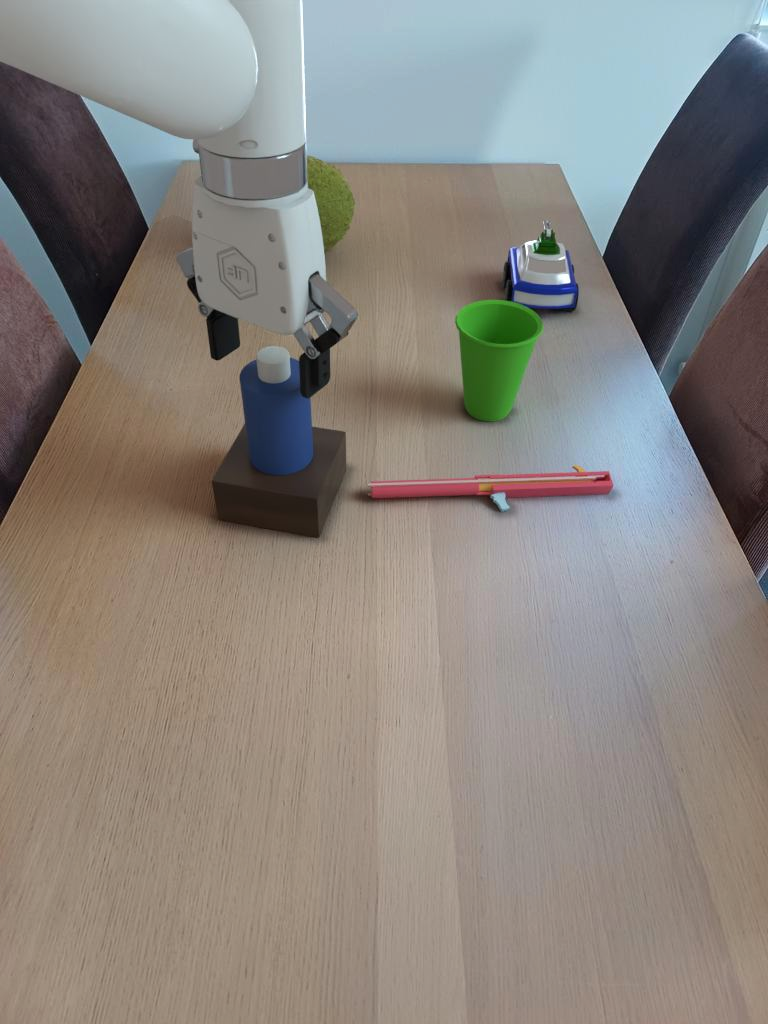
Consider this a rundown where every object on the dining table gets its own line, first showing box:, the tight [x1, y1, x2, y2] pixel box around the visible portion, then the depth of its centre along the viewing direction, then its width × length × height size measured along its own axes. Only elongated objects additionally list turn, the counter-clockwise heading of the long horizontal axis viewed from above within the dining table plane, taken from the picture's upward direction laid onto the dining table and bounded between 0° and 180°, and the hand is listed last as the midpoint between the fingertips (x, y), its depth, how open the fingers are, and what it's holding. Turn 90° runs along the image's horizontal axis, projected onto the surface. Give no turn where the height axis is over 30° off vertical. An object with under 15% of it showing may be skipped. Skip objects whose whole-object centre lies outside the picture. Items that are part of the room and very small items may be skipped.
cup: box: [454, 299, 544, 422], centre depth 86 cm, size 9×9×11 cm
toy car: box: [502, 220, 580, 312], centre depth 105 cm, size 9×12×10 cm
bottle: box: [239, 345, 313, 475], centre depth 72 cm, size 6×6×11 cm
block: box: [211, 423, 347, 539], centre depth 77 cm, size 10×10×5 cm
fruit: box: [307, 154, 356, 253], centre depth 112 cm, size 16×14×15 cm
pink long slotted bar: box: [367, 464, 614, 512], centre depth 79 cm, size 24×2×5 cm
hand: (269, 371), depth 69 cm, fingers open, 9 cm apart
